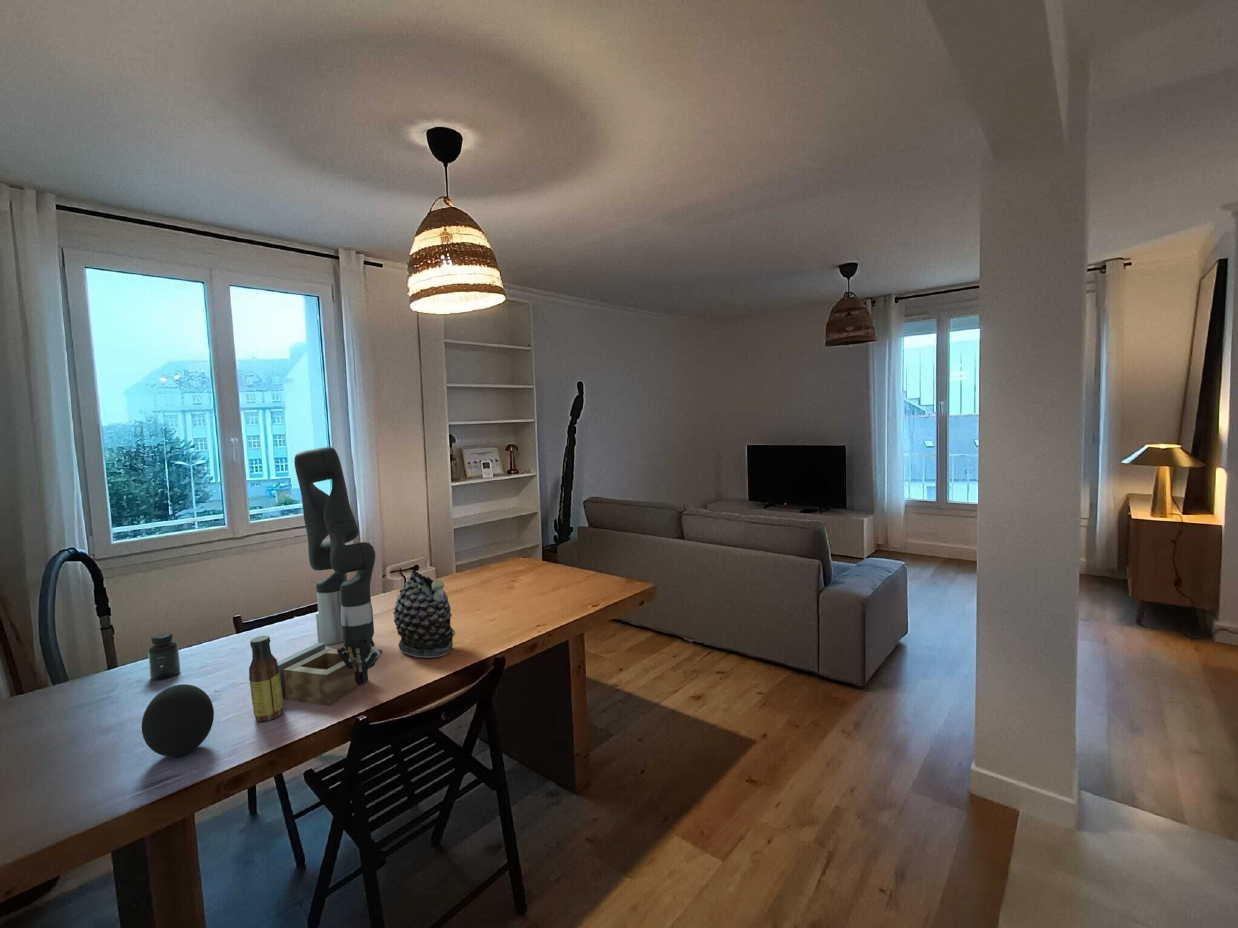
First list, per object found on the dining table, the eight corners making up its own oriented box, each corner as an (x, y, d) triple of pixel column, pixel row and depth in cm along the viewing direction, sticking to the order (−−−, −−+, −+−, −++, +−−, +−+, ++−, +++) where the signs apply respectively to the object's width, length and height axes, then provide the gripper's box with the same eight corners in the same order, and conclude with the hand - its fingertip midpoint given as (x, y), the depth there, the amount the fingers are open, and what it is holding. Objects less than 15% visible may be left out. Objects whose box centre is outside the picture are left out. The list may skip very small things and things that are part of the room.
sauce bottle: (278, 707, 142) (272, 630, 141) (288, 714, 138) (281, 636, 137) (248, 718, 137) (242, 638, 136) (258, 726, 133) (251, 644, 132)
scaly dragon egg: (467, 647, 177) (463, 569, 175) (429, 666, 164) (424, 582, 162) (422, 636, 188) (418, 563, 186) (383, 653, 175) (378, 574, 173)
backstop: (271, 699, 147) (268, 665, 146) (320, 672, 162) (318, 642, 161) (278, 700, 146) (275, 666, 145) (327, 673, 161) (324, 643, 160)
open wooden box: (285, 699, 146) (283, 669, 146) (328, 675, 160) (326, 648, 159) (328, 705, 142) (326, 674, 142) (368, 680, 156) (366, 652, 155)
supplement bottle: (145, 682, 160) (141, 641, 159) (158, 672, 166) (154, 632, 165) (173, 678, 162) (169, 637, 161) (184, 668, 168) (181, 629, 167)
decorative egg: (223, 750, 124) (217, 684, 123) (151, 777, 114) (144, 706, 113) (208, 731, 132) (203, 669, 131) (140, 755, 123) (133, 688, 122)
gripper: (325, 622, 145) (330, 687, 146) (367, 626, 141) (372, 693, 142) (347, 613, 152) (352, 675, 153) (388, 616, 148) (392, 680, 149)
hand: (361, 683), depth 148 cm, fingers closed
